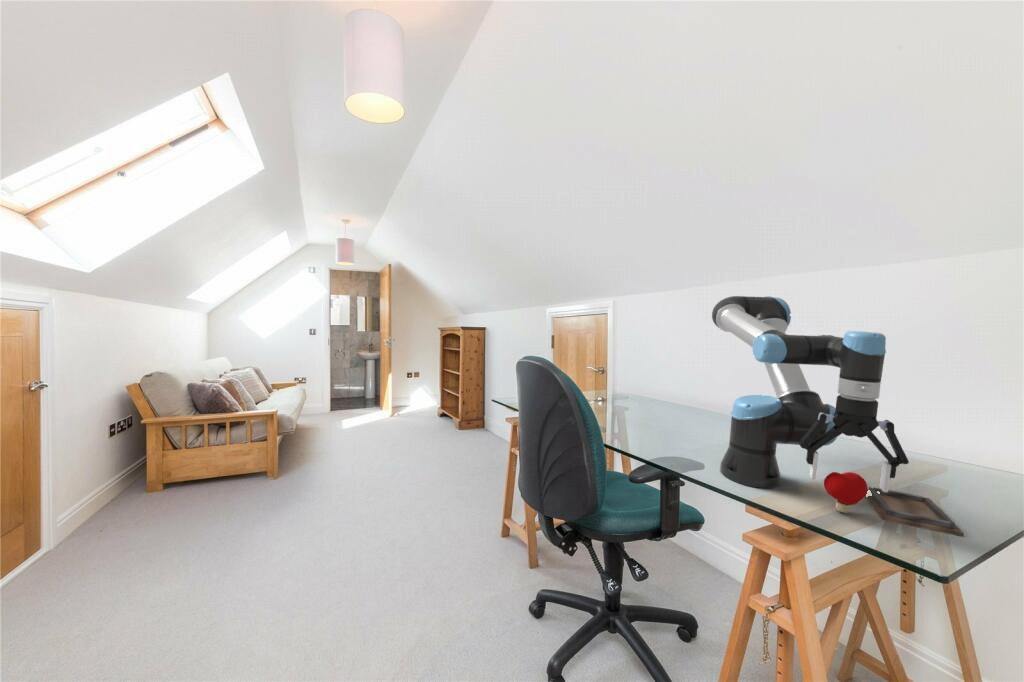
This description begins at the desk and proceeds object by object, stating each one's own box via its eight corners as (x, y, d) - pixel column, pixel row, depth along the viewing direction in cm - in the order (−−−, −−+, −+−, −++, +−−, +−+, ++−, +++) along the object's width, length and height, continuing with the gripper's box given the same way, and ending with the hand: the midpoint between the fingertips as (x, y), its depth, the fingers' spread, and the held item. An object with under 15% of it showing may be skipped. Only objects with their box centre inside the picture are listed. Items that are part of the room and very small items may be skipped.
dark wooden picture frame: (882, 519, 97) (883, 511, 97) (861, 490, 111) (862, 483, 111) (963, 536, 91) (965, 528, 91) (930, 503, 105) (931, 496, 105)
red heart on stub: (848, 505, 103) (853, 467, 102) (873, 520, 97) (878, 480, 95) (812, 505, 103) (817, 467, 102) (834, 520, 96) (840, 480, 95)
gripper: (796, 393, 98) (787, 477, 101) (936, 408, 87) (923, 502, 90) (791, 387, 105) (783, 466, 107) (921, 401, 94) (908, 488, 96)
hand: (846, 483), depth 99 cm, fingers open, 13 cm apart
